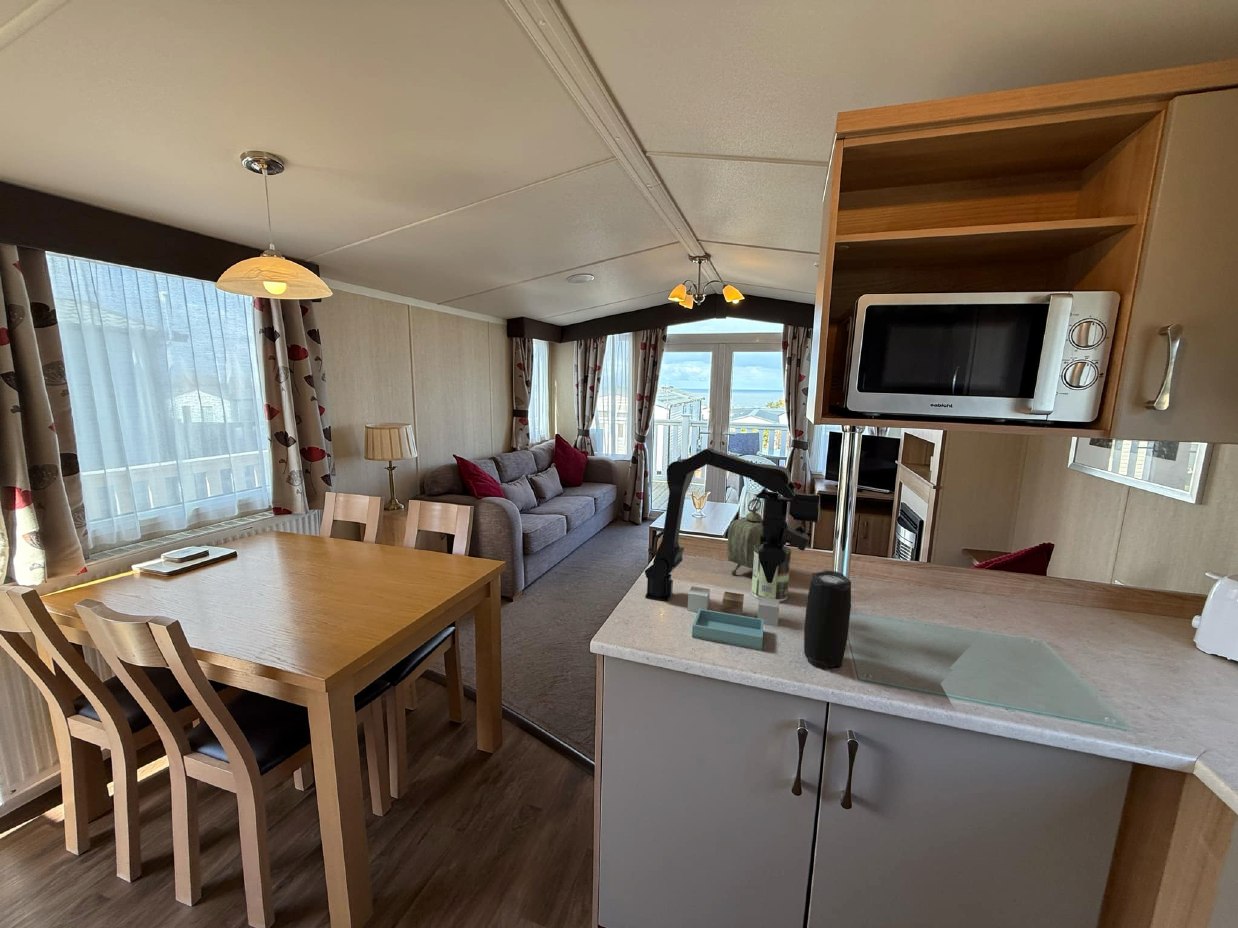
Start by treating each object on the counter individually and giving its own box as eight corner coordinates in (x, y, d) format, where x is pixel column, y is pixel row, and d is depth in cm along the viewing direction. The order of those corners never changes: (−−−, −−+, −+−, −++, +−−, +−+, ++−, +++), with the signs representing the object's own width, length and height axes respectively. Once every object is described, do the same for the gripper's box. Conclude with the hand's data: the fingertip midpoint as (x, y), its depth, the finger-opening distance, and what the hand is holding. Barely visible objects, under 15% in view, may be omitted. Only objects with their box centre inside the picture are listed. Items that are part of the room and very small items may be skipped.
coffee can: (781, 588, 146) (784, 543, 144) (792, 602, 136) (796, 554, 134) (746, 586, 147) (750, 542, 144) (755, 601, 136) (759, 553, 134)
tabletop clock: (751, 565, 165) (757, 493, 162) (775, 573, 158) (781, 498, 155) (725, 574, 156) (730, 499, 152) (749, 583, 149) (755, 504, 146)
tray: (691, 636, 115) (692, 625, 115) (698, 619, 124) (698, 608, 124) (761, 649, 110) (762, 637, 110) (762, 630, 119) (763, 619, 119)
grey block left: (687, 610, 129) (688, 593, 128) (690, 603, 134) (691, 586, 133) (706, 614, 128) (707, 596, 127) (708, 606, 132) (709, 589, 132)
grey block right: (757, 622, 124) (758, 604, 123) (758, 614, 128) (759, 596, 128) (777, 626, 122) (779, 607, 121) (777, 617, 127) (779, 599, 126)
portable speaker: (797, 663, 105) (805, 577, 102) (807, 645, 113) (815, 565, 110) (840, 677, 100) (849, 587, 98) (847, 657, 108) (856, 574, 105)
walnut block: (721, 616, 126) (722, 598, 126) (723, 608, 131) (724, 591, 130) (741, 619, 125) (742, 601, 124) (742, 611, 130) (743, 594, 129)
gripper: (811, 530, 110) (805, 595, 112) (806, 511, 127) (801, 568, 130) (760, 524, 113) (755, 587, 115) (762, 507, 131) (758, 562, 133)
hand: (769, 576), depth 123 cm, fingers open, 9 cm apart
